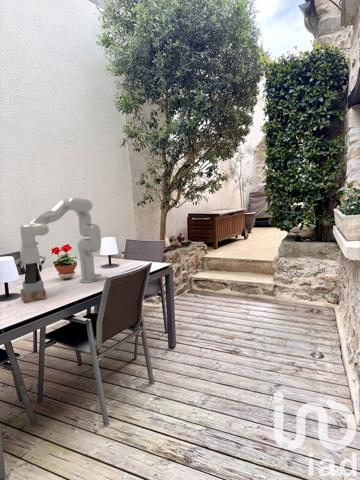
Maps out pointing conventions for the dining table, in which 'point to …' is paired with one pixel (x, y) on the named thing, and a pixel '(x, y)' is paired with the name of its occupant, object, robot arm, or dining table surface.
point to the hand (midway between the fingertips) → (31, 272)
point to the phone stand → (32, 274)
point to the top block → (33, 287)
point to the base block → (33, 296)
